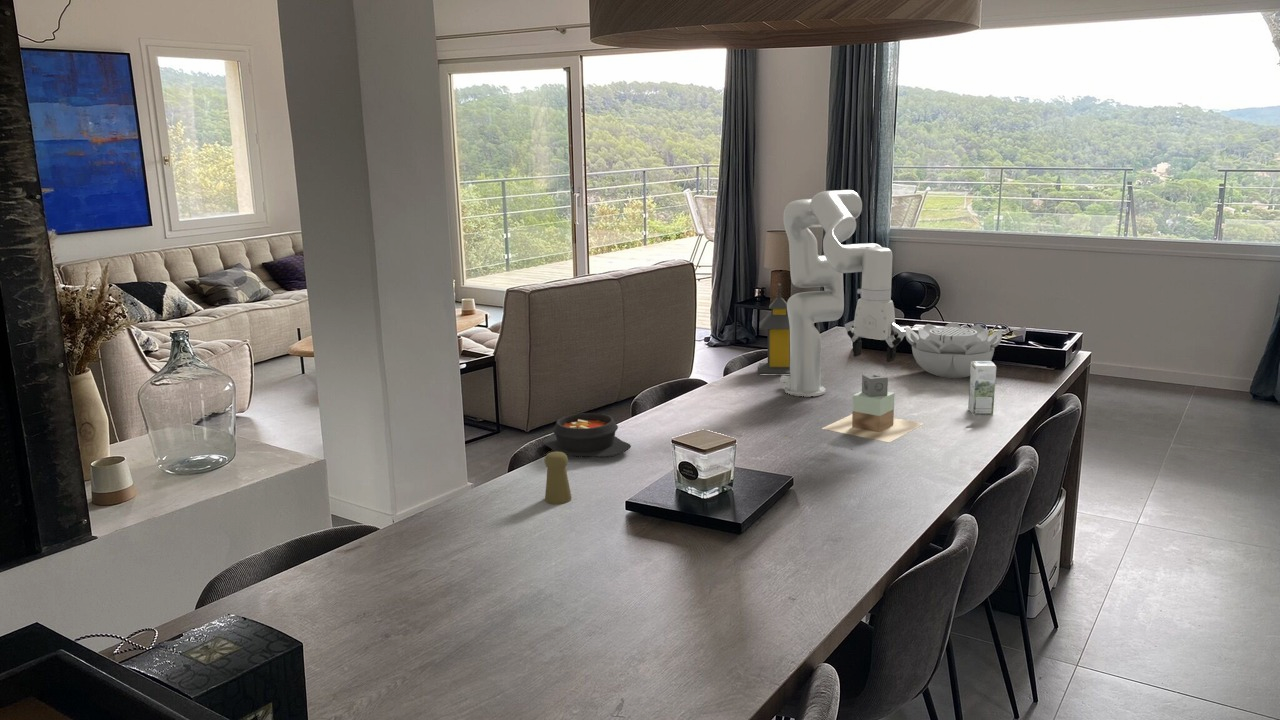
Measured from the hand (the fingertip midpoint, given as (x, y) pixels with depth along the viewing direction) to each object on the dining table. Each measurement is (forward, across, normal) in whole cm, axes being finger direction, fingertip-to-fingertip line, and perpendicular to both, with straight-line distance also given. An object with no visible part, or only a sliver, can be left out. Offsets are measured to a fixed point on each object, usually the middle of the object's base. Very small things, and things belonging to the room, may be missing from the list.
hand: (873, 358), depth 250 cm
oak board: (+20, +1, 0) cm, 20 cm away
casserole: (+21, -51, -58) cm, 80 cm away
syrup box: (+21, +17, +34) cm, 43 cm away
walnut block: (+19, +1, 0) cm, 19 cm away
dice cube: (+10, +1, 0) cm, 10 cm away
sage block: (+14, +1, 0) cm, 14 cm away
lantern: (+22, -58, +43) cm, 75 cm away
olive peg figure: (+20, -32, -86) cm, 94 cm away
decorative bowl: (+21, -8, +68) cm, 72 cm away
